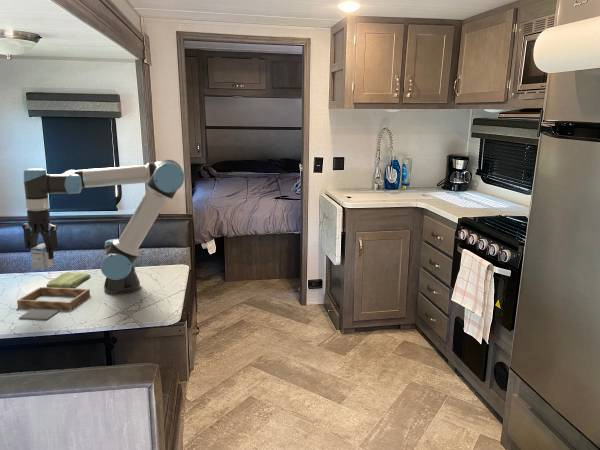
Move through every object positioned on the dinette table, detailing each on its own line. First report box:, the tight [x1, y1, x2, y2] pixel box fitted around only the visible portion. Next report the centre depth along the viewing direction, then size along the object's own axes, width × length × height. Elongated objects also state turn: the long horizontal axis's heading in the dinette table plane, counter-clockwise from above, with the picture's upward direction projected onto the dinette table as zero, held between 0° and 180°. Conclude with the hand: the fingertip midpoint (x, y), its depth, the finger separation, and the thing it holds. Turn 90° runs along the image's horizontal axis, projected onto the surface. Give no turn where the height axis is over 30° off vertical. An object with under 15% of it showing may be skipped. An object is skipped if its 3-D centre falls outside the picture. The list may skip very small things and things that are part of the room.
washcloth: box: [46, 271, 92, 289], centre depth 208 cm, size 13×18×3 cm
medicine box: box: [30, 243, 55, 271], centre depth 177 cm, size 8×4×9 cm, turn 1°
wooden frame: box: [16, 286, 91, 311], centre depth 186 cm, size 22×15×3 cm
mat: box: [18, 308, 62, 321], centre depth 174 cm, size 11×9×1 cm
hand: (43, 266), depth 178 cm, fingers closed on medicine box, 5 cm apart
